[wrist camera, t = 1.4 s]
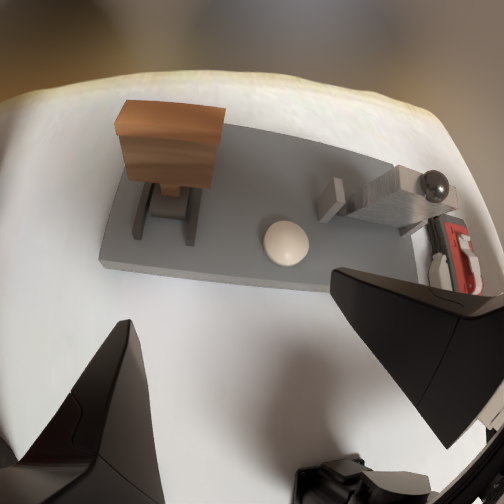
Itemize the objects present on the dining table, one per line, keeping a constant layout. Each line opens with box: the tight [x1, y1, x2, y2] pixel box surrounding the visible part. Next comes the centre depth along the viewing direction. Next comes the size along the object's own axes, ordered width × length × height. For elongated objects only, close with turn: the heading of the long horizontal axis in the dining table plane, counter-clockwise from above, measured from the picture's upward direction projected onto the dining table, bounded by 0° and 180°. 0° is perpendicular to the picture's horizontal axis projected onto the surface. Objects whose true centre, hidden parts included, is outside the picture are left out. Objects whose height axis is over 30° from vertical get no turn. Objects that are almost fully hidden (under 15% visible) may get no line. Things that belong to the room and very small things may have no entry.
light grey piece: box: [335, 165, 458, 229], centre depth 21 cm, size 2×8×11 cm, turn 87°
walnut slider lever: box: [114, 100, 226, 220], centre depth 19 cm, size 4×6×9 cm, turn 88°
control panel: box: [98, 123, 428, 293], centre depth 25 cm, size 16×29×6 cm, turn 88°
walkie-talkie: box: [427, 214, 483, 296], centre depth 27 cm, size 9×4×20 cm
